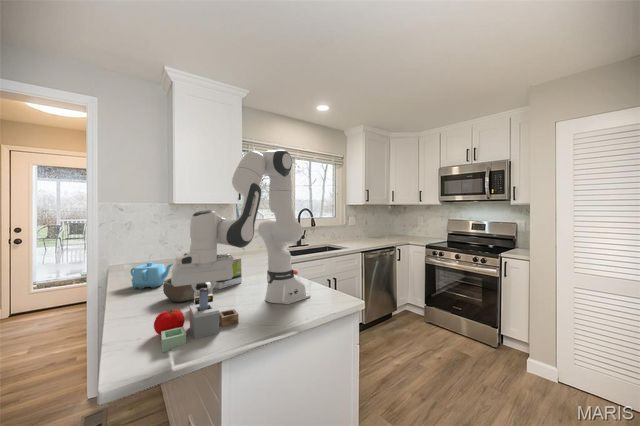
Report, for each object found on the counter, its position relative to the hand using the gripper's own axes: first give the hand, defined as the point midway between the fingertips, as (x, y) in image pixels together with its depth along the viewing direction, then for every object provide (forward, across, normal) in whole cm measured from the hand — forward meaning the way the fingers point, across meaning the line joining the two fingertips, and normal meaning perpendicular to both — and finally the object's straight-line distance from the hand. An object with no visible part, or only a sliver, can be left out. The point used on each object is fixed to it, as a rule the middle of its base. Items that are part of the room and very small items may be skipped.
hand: (203, 294), depth 96 cm
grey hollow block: (+14, 0, 0) cm, 14 cm away
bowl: (+14, +1, -43) cm, 45 cm away
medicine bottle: (+14, -4, -23) cm, 27 cm away
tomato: (+14, +10, -6) cm, 18 cm away
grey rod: (+8, 0, 0) cm, 8 cm away
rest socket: (+14, +10, +3) cm, 17 cm away
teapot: (+14, +13, -75) cm, 77 cm away
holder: (+14, -9, -2) cm, 17 cm away
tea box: (+14, -22, -56) cm, 62 cm away
